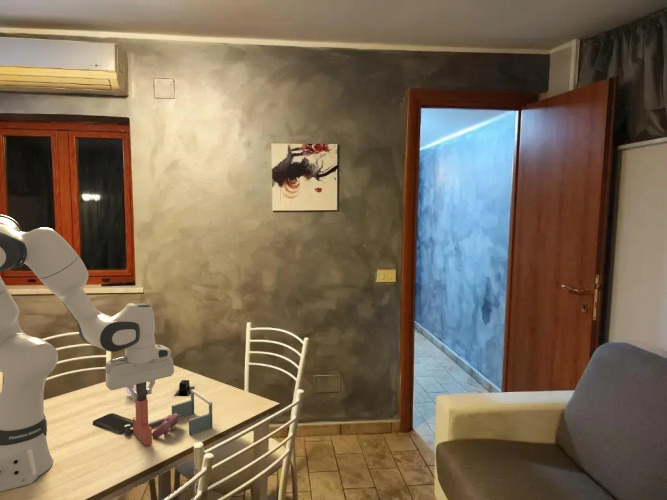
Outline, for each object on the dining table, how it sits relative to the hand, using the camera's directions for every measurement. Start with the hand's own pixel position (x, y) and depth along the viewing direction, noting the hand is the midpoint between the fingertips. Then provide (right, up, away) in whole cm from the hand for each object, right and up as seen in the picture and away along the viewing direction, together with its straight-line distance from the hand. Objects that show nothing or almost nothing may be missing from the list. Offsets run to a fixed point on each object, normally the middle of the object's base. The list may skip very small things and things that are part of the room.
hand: (141, 395), depth 146 cm
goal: (+12, -14, +13) cm, 22 cm away
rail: (-2, -14, +9) cm, 17 cm away
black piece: (+1, -12, +39) cm, 41 cm away
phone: (-13, -14, +11) cm, 22 cm away
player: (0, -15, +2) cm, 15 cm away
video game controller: (+6, -15, +7) cm, 17 cm away
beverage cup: (-19, -11, +36) cm, 42 cm away
